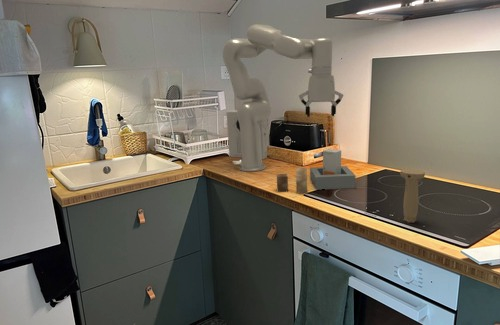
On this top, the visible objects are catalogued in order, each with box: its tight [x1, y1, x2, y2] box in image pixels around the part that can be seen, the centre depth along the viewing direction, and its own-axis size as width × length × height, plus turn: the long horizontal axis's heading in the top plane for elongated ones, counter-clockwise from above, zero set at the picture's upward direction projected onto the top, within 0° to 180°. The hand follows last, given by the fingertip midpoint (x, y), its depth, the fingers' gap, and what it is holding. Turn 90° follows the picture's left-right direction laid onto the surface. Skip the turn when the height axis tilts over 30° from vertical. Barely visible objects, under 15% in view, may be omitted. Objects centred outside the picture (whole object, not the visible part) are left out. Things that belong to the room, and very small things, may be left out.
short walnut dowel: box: [276, 173, 289, 193], centre depth 145 cm, size 4×4×6 cm
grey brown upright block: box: [295, 167, 308, 195], centre depth 141 cm, size 4×4×9 cm
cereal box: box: [226, 109, 270, 160], centre depth 205 cm, size 22×8×25 cm, turn 60°
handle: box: [399, 168, 426, 223], centre depth 109 cm, size 5×6×15 cm
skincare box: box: [322, 148, 342, 175], centre depth 150 cm, size 6×4×12 cm
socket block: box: [309, 165, 356, 191], centre depth 151 cm, size 15×15×5 cm
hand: (320, 116), depth 151 cm, fingers open, 9 cm apart
